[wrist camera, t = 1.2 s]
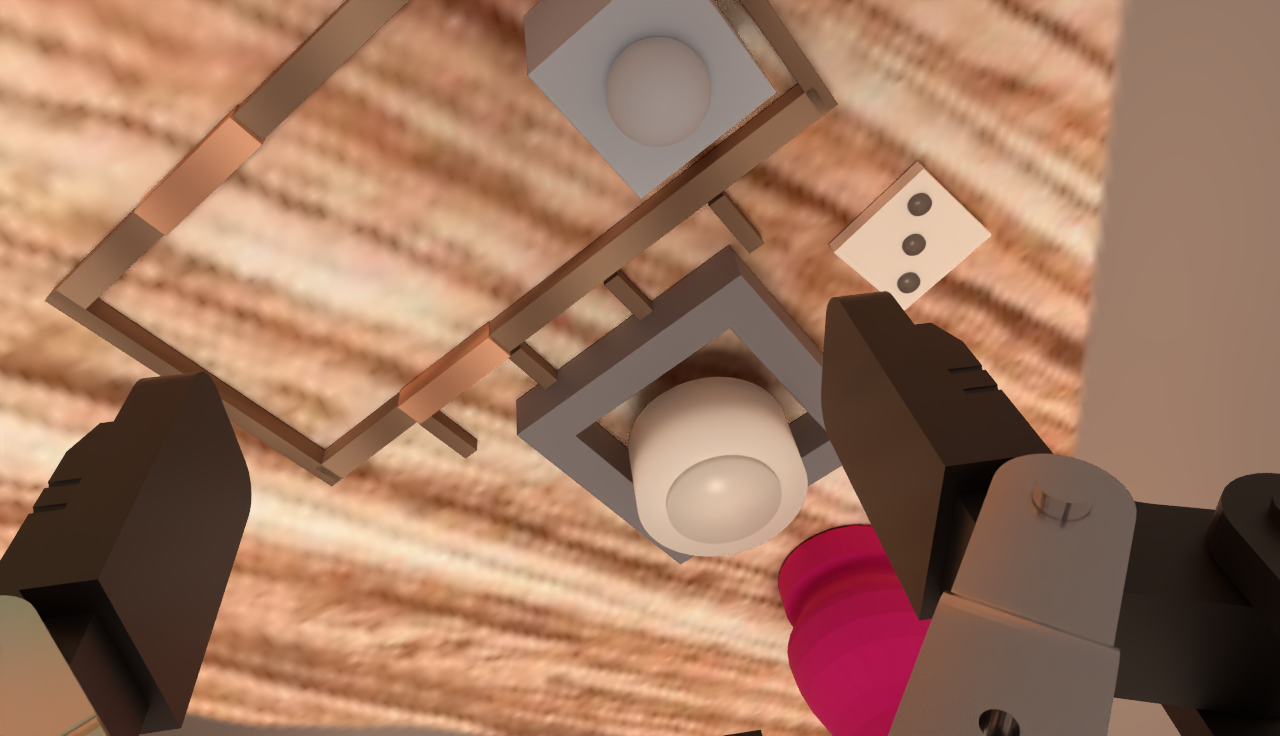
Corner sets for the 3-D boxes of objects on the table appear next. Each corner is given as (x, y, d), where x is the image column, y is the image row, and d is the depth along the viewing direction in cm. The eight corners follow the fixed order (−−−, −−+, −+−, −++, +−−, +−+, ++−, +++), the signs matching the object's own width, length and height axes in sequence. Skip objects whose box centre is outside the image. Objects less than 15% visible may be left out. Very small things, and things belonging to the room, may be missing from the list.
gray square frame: (729, 245, 32) (740, 274, 30) (869, 406, 37) (884, 439, 36) (516, 400, 35) (517, 434, 33) (673, 529, 40) (680, 564, 39)
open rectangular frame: (595, -249, 23) (598, -246, 22) (871, 153, 30) (881, 166, 30) (52, 286, 30) (40, 303, 29) (386, 506, 37) (383, 524, 37)
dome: (727, 348, 32) (747, 408, 29) (816, 441, 35) (841, 503, 32) (594, 439, 34) (602, 504, 31) (691, 520, 37) (705, 585, 34)
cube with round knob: (644, -95, 25) (684, -31, 20) (737, 32, 28) (795, 120, 22) (523, 15, 27) (528, 103, 21) (621, 127, 29) (649, 232, 23)
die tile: (917, 161, 31) (925, 170, 30) (985, 226, 33) (993, 237, 32) (829, 244, 32) (835, 254, 32) (898, 302, 34) (905, 313, 34)
